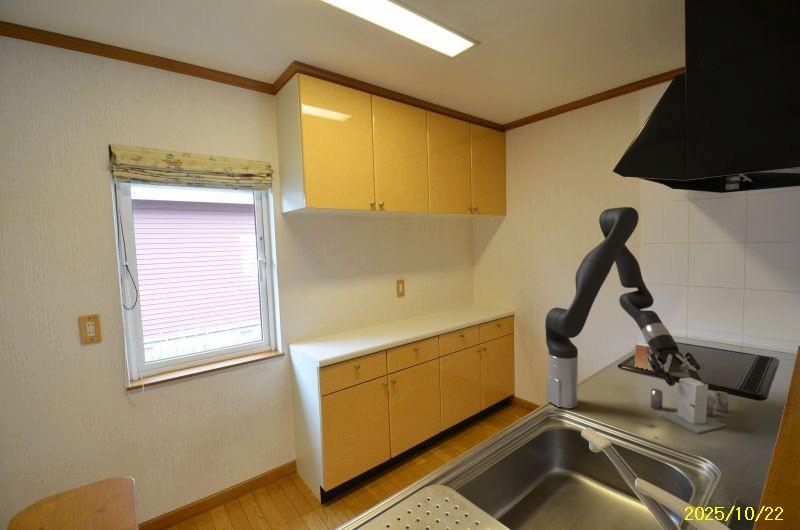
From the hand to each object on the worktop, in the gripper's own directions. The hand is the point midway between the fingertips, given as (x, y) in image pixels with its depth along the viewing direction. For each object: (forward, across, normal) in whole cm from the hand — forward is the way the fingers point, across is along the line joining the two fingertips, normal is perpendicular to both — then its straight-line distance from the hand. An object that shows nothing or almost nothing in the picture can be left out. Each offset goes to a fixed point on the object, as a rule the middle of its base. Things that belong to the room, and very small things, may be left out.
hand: (685, 384), depth 114 cm
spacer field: (+4, +6, +11) cm, 13 cm away
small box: (-24, +21, +39) cm, 50 cm away
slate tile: (+9, 0, +6) cm, 11 cm away
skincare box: (+9, 0, +6) cm, 11 cm away
